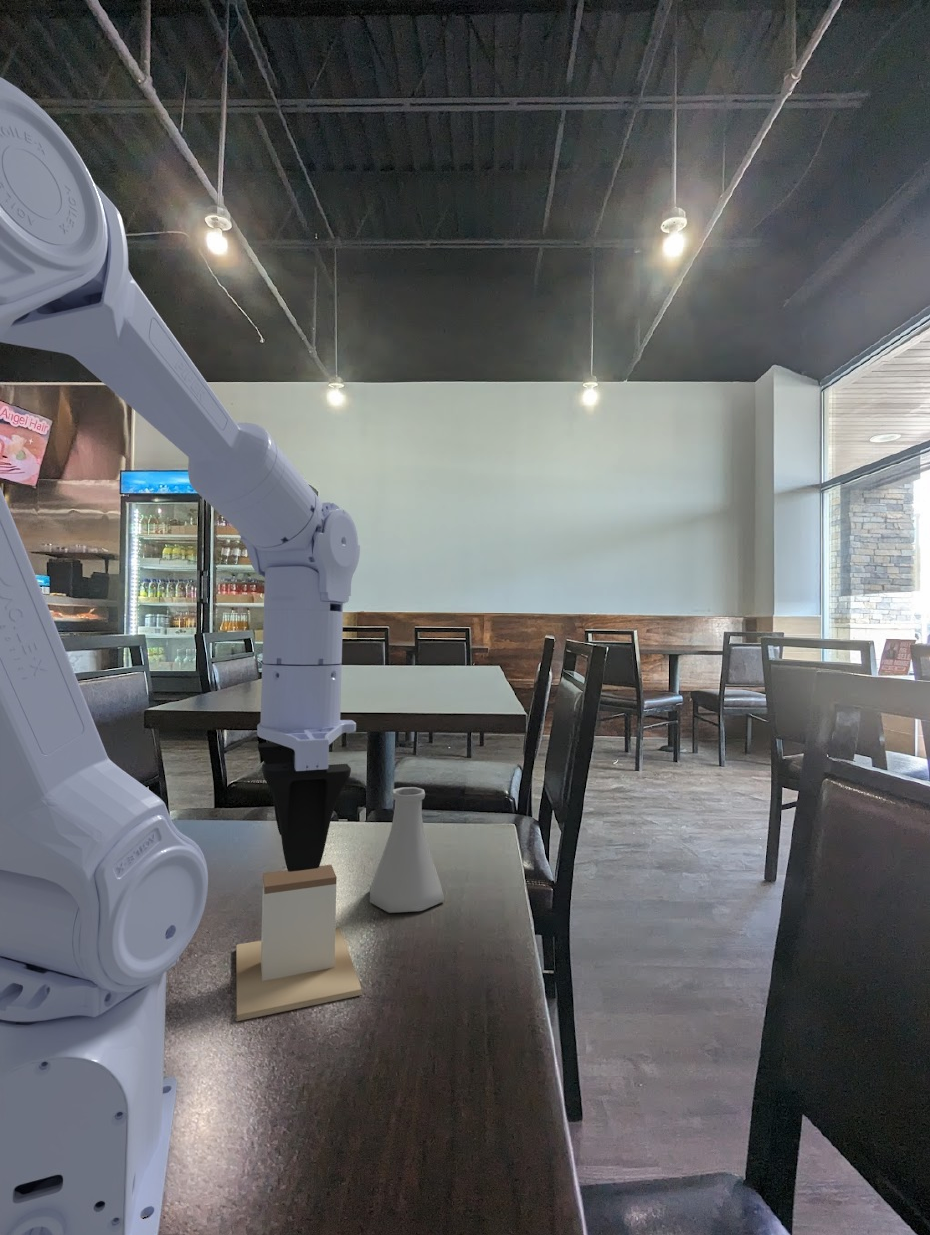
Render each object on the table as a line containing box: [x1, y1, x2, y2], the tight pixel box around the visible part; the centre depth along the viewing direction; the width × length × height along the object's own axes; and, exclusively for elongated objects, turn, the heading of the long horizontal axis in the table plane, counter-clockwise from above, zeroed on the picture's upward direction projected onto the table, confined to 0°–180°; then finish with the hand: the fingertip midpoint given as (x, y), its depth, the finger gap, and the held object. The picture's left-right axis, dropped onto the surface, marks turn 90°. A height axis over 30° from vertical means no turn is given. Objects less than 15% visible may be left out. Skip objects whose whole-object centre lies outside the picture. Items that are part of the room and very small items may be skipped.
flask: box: [369, 786, 445, 914], centre depth 55 cm, size 7×7×10 cm
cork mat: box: [235, 927, 363, 1022], centre depth 43 cm, size 9×8×1 cm
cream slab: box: [260, 864, 337, 981], centre depth 43 cm, size 2×5×6 cm, turn 111°
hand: (297, 848), depth 43 cm, fingers open, 7 cm apart
